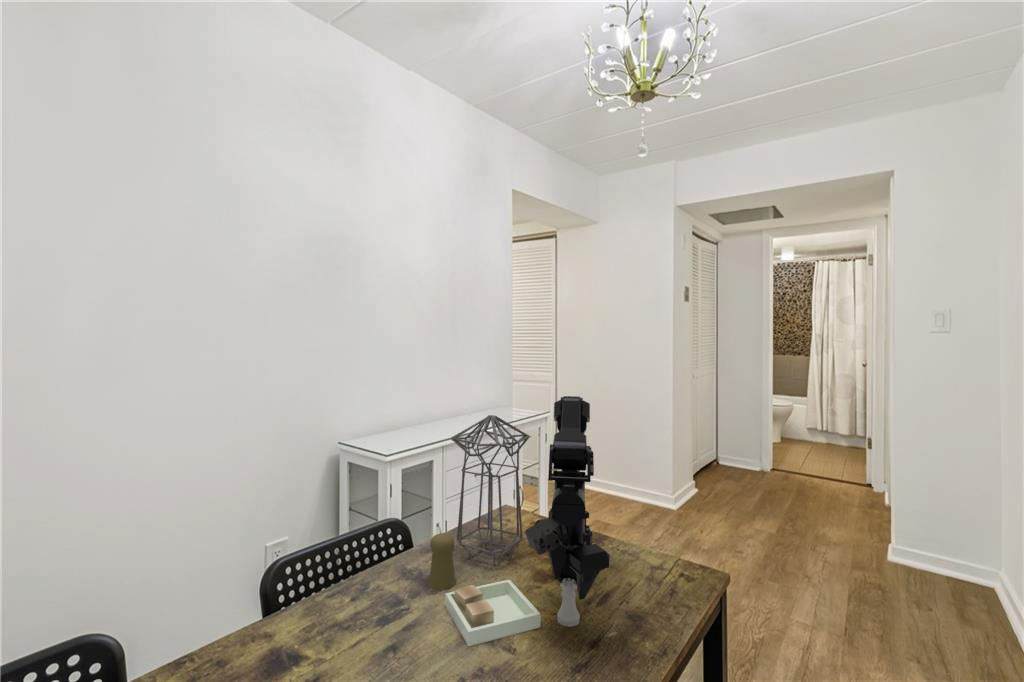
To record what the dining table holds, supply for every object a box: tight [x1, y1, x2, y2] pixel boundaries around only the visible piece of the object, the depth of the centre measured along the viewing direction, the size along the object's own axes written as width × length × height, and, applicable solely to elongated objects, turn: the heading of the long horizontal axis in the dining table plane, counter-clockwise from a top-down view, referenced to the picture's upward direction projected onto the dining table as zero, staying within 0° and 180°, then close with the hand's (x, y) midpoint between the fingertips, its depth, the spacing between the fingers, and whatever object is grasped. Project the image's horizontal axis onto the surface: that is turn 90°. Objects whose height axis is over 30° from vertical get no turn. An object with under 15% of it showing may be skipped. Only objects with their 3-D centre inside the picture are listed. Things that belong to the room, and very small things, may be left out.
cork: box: [428, 532, 457, 591], centre depth 108 cm, size 6×6×11 cm
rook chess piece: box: [556, 578, 581, 628], centre depth 94 cm, size 4×4×8 cm
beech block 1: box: [454, 584, 483, 619], centre depth 96 cm, size 4×4×4 cm
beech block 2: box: [466, 600, 494, 628], centre depth 91 cm, size 4×4×4 cm
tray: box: [444, 579, 542, 647], centre depth 95 cm, size 14×14×3 cm
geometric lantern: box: [450, 414, 532, 567], centre depth 121 cm, size 16×16×35 cm
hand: (568, 587), depth 94 cm, fingers open, 9 cm apart
